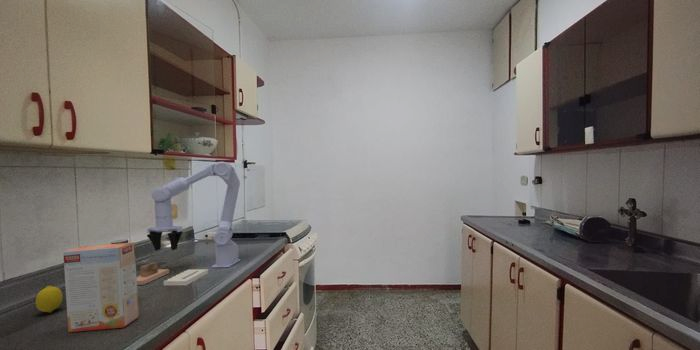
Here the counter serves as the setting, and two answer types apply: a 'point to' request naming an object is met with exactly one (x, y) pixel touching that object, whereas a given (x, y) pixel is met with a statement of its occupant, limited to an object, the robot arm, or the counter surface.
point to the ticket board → (186, 277)
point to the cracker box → (101, 286)
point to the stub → (150, 273)
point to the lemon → (49, 299)
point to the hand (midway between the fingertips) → (166, 249)
